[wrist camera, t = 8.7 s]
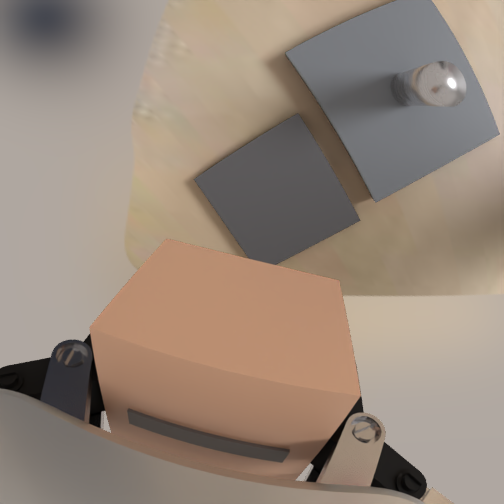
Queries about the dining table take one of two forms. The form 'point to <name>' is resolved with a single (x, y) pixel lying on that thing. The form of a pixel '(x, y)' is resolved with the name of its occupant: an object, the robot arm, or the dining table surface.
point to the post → (430, 85)
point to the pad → (278, 194)
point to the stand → (382, 100)
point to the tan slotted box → (226, 360)
